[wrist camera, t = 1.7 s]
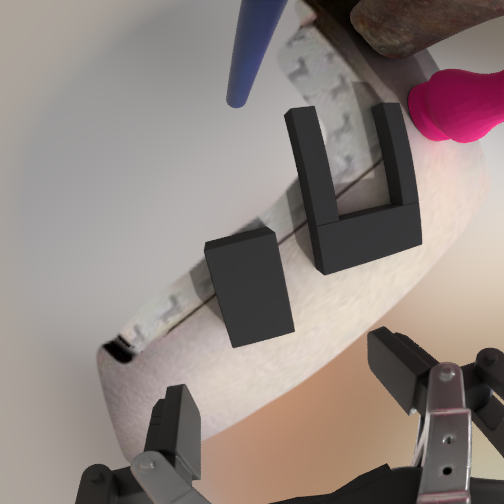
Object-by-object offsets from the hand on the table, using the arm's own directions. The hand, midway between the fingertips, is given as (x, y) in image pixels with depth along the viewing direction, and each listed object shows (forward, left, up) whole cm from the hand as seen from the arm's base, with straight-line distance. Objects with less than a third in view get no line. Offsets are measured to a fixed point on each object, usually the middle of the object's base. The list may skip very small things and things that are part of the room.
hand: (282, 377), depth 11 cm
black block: (0, 0, -12) cm, 12 cm away
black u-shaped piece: (-6, +11, -12) cm, 18 cm away
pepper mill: (-12, +22, -13) cm, 28 cm away
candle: (-21, +19, -13) cm, 31 cm away
